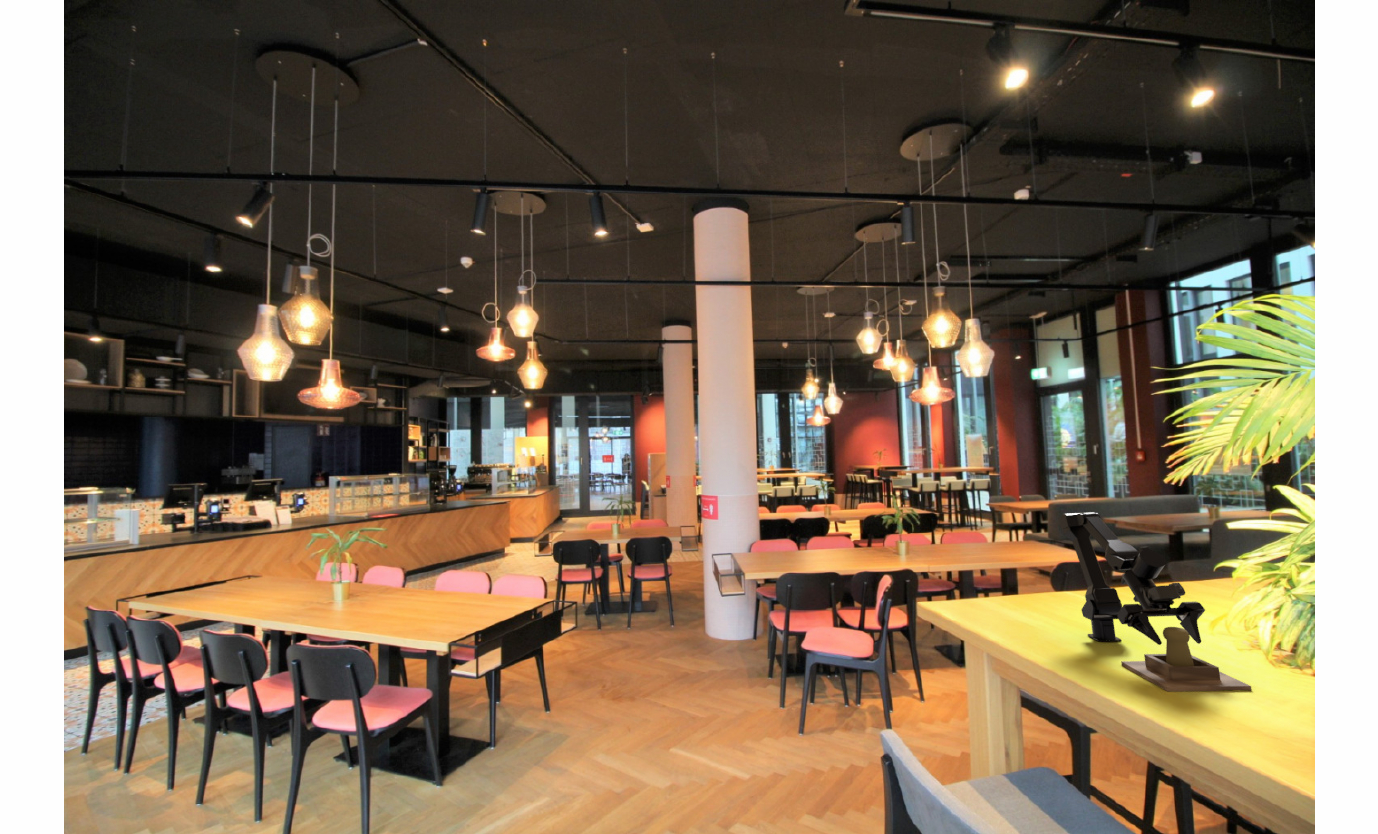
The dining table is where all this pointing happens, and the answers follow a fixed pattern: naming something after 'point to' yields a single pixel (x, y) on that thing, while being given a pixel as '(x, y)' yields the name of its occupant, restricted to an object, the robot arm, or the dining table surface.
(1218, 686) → the holder board
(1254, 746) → the dining table surface
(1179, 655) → the cork
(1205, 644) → the dining table surface
